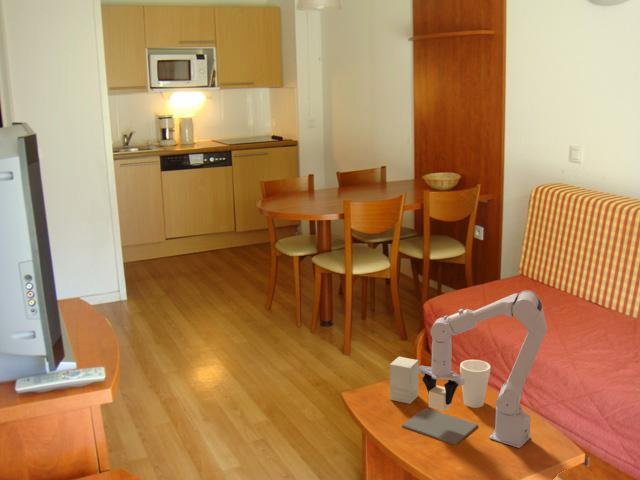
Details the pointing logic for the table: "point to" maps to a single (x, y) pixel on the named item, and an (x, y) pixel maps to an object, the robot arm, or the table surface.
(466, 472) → the table surface
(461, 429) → the charcoal mat
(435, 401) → the cream cube
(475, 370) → the foam cup
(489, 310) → the robot arm
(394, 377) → the supplement box
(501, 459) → the table surface
